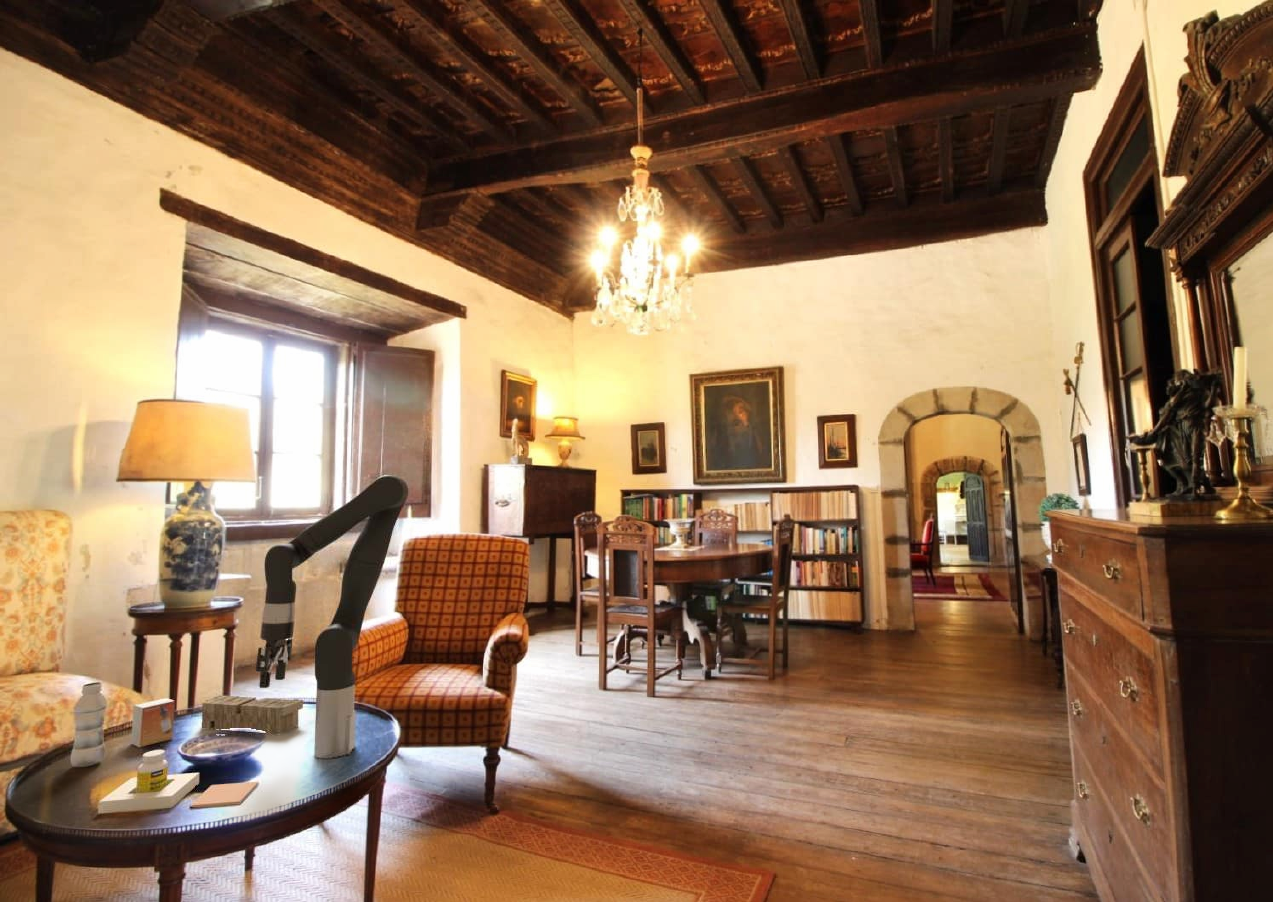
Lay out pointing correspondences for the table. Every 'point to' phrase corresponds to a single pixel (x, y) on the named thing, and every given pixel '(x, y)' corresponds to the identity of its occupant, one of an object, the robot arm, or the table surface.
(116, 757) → the table surface
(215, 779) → the table surface
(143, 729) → the small box
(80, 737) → the plastic bottle
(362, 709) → the table surface
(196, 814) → the table surface
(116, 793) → the block
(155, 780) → the supplement bottle
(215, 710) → the block tower
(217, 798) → the terracotta tile
